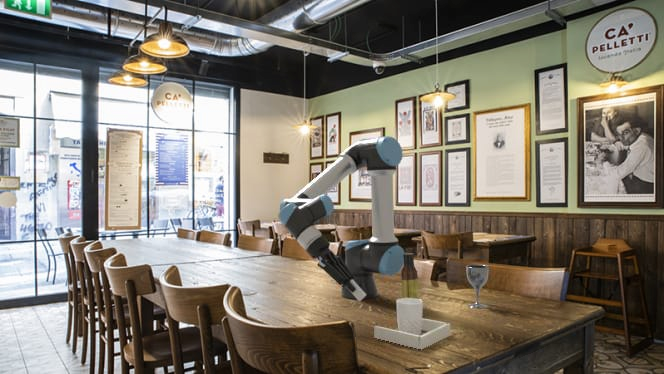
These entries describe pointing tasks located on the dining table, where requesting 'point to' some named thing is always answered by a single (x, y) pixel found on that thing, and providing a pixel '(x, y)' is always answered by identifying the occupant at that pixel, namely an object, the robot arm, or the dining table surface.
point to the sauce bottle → (409, 277)
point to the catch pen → (433, 335)
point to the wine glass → (477, 281)
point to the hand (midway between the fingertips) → (362, 298)
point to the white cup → (409, 315)
